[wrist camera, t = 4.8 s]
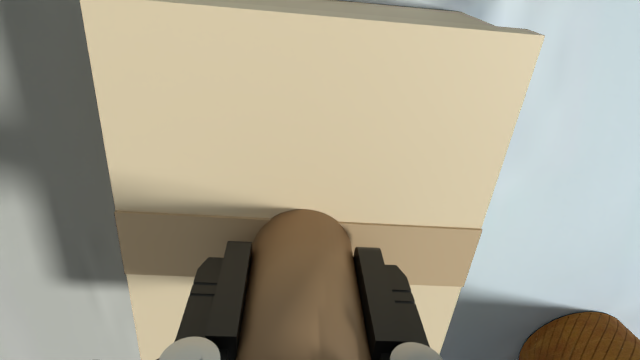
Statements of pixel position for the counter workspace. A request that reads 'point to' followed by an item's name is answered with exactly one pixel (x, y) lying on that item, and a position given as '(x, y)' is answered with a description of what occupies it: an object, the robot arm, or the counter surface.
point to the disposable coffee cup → (582, 339)
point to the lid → (299, 158)
